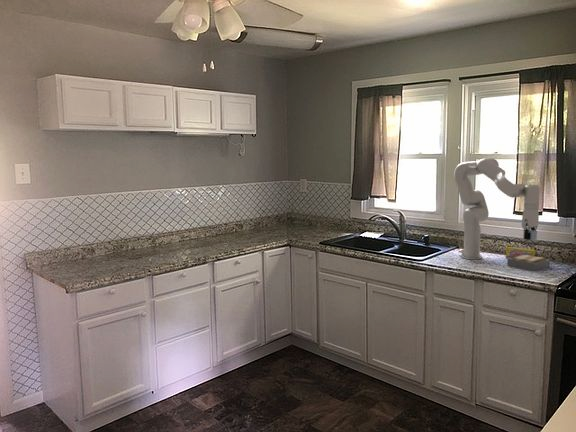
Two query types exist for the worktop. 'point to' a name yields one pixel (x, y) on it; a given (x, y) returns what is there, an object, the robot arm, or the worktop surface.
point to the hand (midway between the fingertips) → (529, 238)
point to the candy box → (518, 252)
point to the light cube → (532, 235)
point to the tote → (528, 264)
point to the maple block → (529, 258)
